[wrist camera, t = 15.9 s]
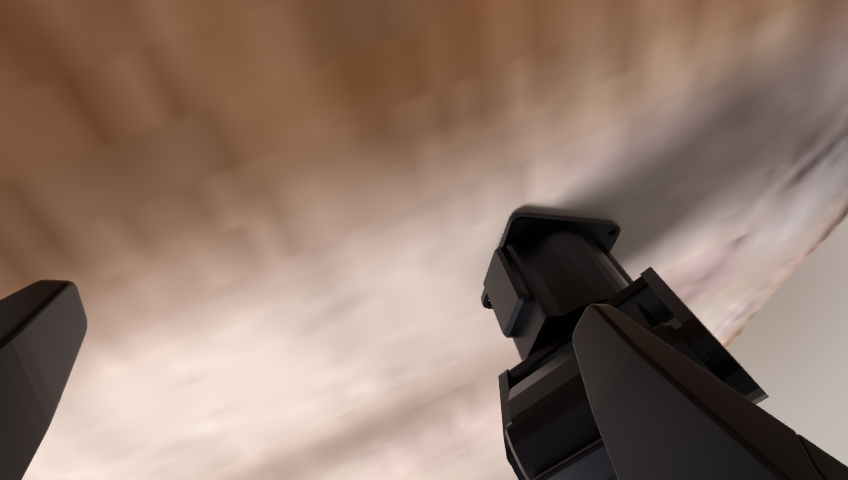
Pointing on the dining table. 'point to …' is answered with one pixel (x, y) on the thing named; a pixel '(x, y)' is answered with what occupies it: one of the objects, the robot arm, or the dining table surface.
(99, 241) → the dining table surface
